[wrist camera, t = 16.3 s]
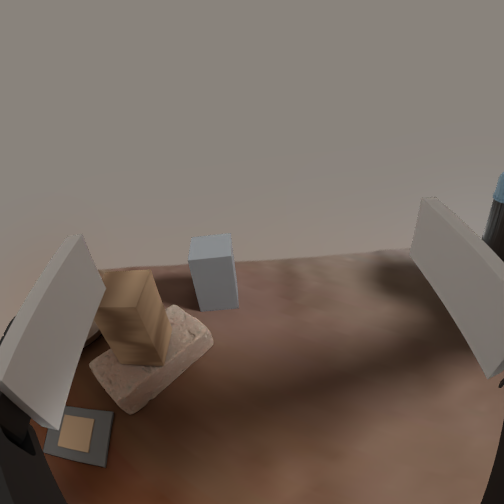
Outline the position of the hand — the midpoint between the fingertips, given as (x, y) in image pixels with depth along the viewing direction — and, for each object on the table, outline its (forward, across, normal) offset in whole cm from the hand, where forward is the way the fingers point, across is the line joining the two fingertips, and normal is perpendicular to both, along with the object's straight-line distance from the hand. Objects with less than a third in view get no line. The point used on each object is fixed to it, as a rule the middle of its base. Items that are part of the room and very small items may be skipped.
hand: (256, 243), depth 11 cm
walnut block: (+14, -15, -23) cm, 31 cm away
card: (+2, -25, -27) cm, 37 cm away
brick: (+14, -15, -28) cm, 35 cm away
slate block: (+27, -6, -28) cm, 39 cm away
